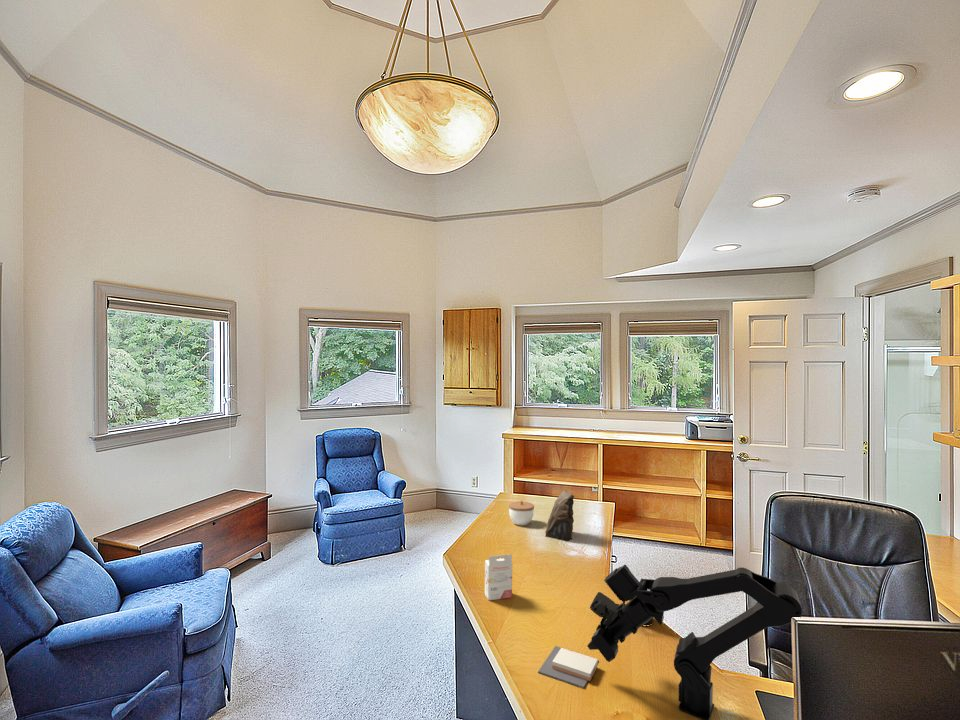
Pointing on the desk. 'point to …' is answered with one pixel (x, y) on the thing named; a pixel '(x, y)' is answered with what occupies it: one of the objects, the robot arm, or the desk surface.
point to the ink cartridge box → (498, 577)
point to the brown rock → (561, 518)
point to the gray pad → (548, 671)
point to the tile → (575, 664)
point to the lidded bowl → (521, 512)
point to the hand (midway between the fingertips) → (588, 647)
